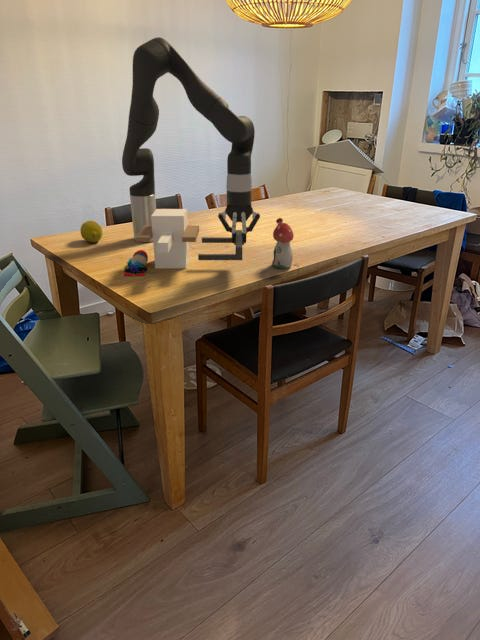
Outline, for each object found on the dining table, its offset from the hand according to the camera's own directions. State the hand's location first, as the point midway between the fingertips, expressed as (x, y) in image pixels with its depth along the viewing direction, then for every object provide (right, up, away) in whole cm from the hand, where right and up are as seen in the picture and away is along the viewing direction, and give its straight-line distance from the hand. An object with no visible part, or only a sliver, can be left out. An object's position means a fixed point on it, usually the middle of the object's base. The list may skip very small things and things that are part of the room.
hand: (239, 244), depth 151 cm
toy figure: (-33, -8, +4) cm, 34 cm away
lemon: (-56, +6, +31) cm, 64 cm away
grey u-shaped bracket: (-5, -2, -3) cm, 7 cm away
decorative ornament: (+14, -6, +6) cm, 16 cm away
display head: (-22, -8, +2) cm, 24 cm away
